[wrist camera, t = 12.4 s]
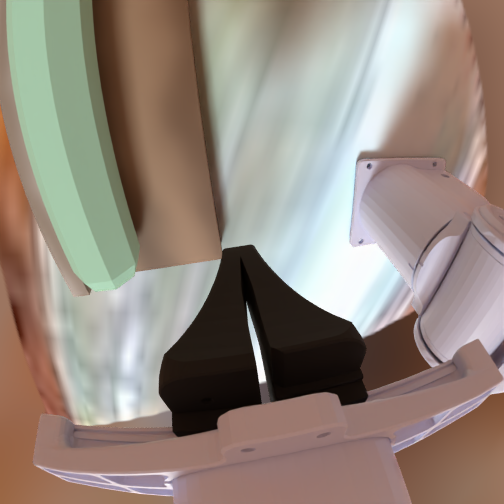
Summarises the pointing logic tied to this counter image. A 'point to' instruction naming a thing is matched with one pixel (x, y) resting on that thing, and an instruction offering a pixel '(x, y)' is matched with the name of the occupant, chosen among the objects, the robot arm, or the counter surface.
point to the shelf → (140, 133)
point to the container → (70, 137)
